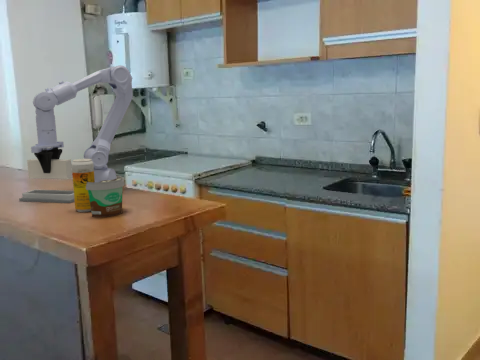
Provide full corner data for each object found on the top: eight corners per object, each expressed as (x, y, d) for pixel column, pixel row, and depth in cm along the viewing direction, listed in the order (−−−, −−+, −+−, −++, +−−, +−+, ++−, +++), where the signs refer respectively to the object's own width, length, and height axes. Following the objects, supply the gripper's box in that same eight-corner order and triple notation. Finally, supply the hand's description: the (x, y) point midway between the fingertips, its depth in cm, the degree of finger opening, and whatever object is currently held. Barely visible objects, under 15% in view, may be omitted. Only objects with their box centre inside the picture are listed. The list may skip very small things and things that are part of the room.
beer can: (77, 213, 142) (73, 162, 139) (73, 209, 147) (69, 159, 144) (98, 210, 145) (95, 160, 142) (94, 206, 150) (90, 157, 147)
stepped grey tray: (85, 196, 164) (84, 190, 163) (70, 203, 155) (69, 196, 155) (36, 195, 168) (35, 188, 168) (19, 201, 159) (18, 194, 159)
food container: (103, 220, 134) (100, 184, 132) (88, 217, 137) (85, 182, 135) (135, 210, 144) (133, 177, 142) (120, 208, 148) (118, 175, 146)
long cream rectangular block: (72, 177, 160) (71, 159, 159) (67, 179, 157) (65, 160, 156) (34, 176, 163) (32, 158, 162) (28, 178, 161) (27, 160, 160)
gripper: (49, 128, 165) (52, 168, 168) (20, 132, 152) (25, 175, 154) (67, 128, 164) (71, 168, 166) (41, 132, 150) (45, 176, 152)
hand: (50, 172), depth 160 cm, fingers closed on long cream rectangular block, 3 cm apart
